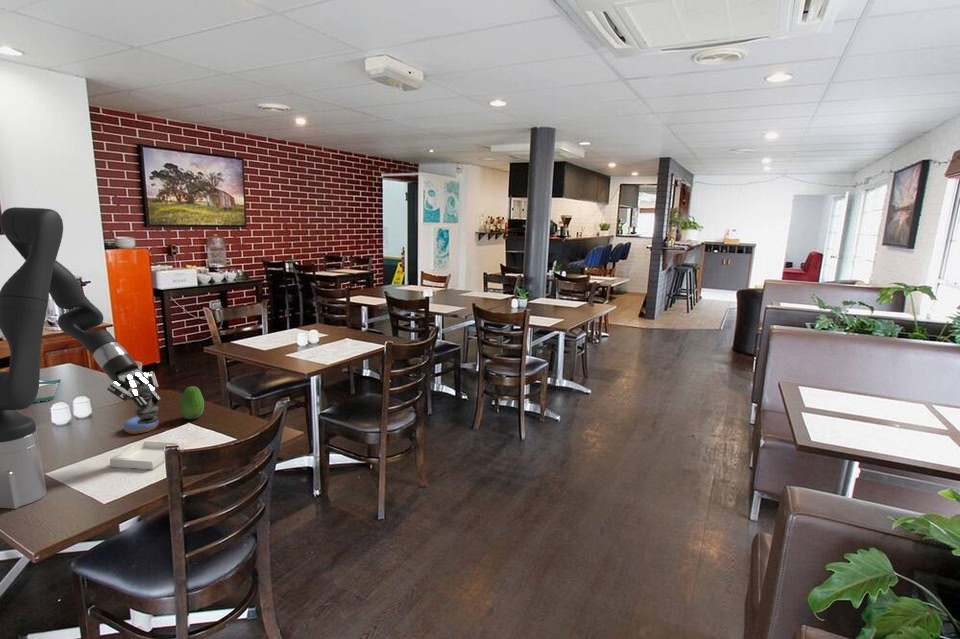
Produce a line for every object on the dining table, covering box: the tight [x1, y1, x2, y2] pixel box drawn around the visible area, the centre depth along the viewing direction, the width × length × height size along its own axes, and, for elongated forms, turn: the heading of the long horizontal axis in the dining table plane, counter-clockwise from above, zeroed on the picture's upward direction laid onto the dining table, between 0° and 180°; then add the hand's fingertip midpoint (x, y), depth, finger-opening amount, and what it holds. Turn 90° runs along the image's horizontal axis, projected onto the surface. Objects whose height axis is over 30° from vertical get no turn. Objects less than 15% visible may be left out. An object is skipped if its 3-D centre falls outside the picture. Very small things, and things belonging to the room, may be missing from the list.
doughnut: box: [123, 415, 160, 435], centre depth 168 cm, size 10×10×5 cm
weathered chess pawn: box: [134, 382, 160, 424], centre depth 146 cm, size 6×6×12 cm
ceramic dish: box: [109, 439, 185, 471], centre depth 148 cm, size 13×13×2 cm
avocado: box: [178, 385, 205, 420], centre depth 177 cm, size 8×8×12 cm
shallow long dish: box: [34, 379, 62, 402], centre depth 201 cm, size 26×9×2 cm, turn 35°
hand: (151, 404), depth 145 cm, fingers closed on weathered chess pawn, 3 cm apart
